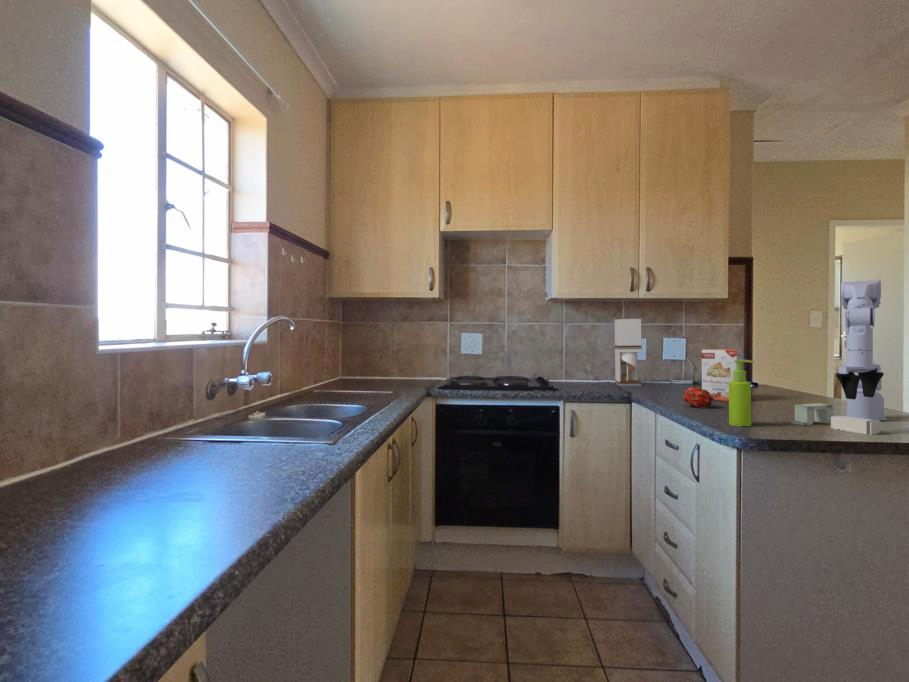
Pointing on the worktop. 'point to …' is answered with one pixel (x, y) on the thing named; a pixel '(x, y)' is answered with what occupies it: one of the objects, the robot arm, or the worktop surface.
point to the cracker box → (719, 371)
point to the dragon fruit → (697, 397)
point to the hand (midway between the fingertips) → (859, 398)
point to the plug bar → (855, 424)
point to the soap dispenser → (740, 397)
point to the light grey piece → (627, 351)
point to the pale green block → (806, 413)
